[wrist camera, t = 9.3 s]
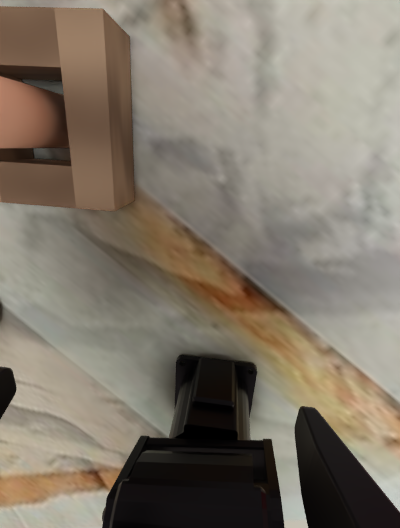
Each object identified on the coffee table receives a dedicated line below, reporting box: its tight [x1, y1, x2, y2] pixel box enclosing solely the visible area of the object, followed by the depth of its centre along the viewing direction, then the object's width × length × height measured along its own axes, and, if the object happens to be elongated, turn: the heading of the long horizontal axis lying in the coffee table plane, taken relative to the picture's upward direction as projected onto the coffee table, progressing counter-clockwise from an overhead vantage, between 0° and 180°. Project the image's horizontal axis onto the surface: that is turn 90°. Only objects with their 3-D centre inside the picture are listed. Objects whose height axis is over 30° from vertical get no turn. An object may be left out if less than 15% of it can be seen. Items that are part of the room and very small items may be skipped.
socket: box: [0, 7, 135, 211], centre depth 16 cm, size 9×9×4 cm
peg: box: [0, 76, 69, 148], centre depth 14 cm, size 3×3×9 cm
